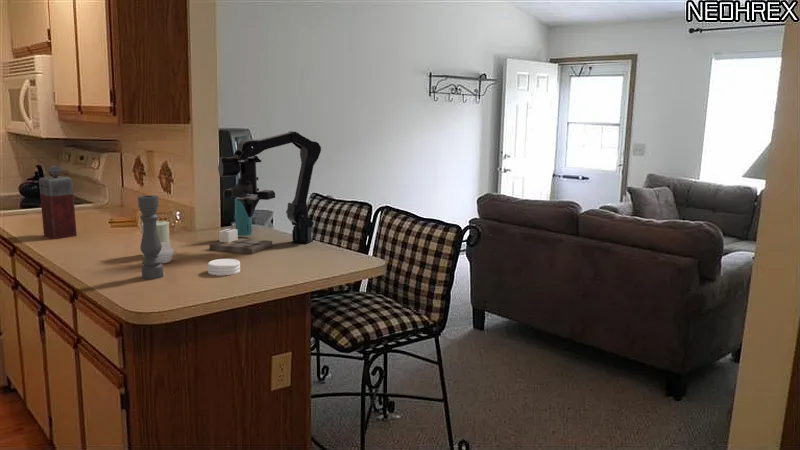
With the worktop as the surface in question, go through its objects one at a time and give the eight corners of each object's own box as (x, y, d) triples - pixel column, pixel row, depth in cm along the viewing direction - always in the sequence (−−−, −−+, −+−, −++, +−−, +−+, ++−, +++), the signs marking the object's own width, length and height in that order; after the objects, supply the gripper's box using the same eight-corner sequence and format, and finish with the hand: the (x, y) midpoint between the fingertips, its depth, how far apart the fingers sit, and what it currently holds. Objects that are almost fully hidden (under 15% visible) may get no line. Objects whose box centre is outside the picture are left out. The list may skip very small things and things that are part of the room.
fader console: (272, 246, 246) (272, 240, 245) (252, 253, 232) (252, 248, 232) (231, 242, 251) (231, 237, 251) (209, 249, 238) (209, 244, 238)
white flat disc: (210, 277, 201) (209, 266, 201) (206, 270, 210) (205, 259, 210) (242, 274, 205) (242, 264, 205) (237, 267, 214) (237, 257, 214)
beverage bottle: (248, 240, 256) (246, 189, 252) (232, 239, 257) (230, 189, 253) (255, 236, 262) (253, 187, 258) (239, 236, 263) (238, 187, 260)
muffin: (156, 264, 216) (155, 244, 214) (154, 260, 221) (153, 240, 220) (176, 262, 218) (175, 242, 217) (173, 259, 224) (172, 239, 222)
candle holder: (145, 274, 204) (140, 195, 199) (165, 273, 204) (161, 195, 200) (139, 279, 198) (134, 198, 193) (160, 279, 198) (155, 198, 194)
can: (176, 253, 232) (174, 220, 230) (159, 259, 223) (157, 224, 221) (155, 251, 235) (153, 218, 233) (137, 256, 226) (135, 223, 224)
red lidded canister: (63, 232, 266) (57, 164, 261) (77, 235, 260) (71, 166, 254) (40, 235, 259) (34, 165, 254) (54, 239, 253) (47, 167, 248)
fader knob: (237, 239, 245) (237, 229, 245) (228, 242, 240) (228, 231, 239) (228, 238, 247) (228, 228, 246) (219, 241, 241) (218, 231, 240)
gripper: (213, 176, 233) (215, 219, 236) (259, 178, 227) (260, 222, 230) (231, 173, 243) (233, 214, 246) (275, 175, 237) (276, 217, 240)
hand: (250, 217), depth 240 cm, fingers closed
